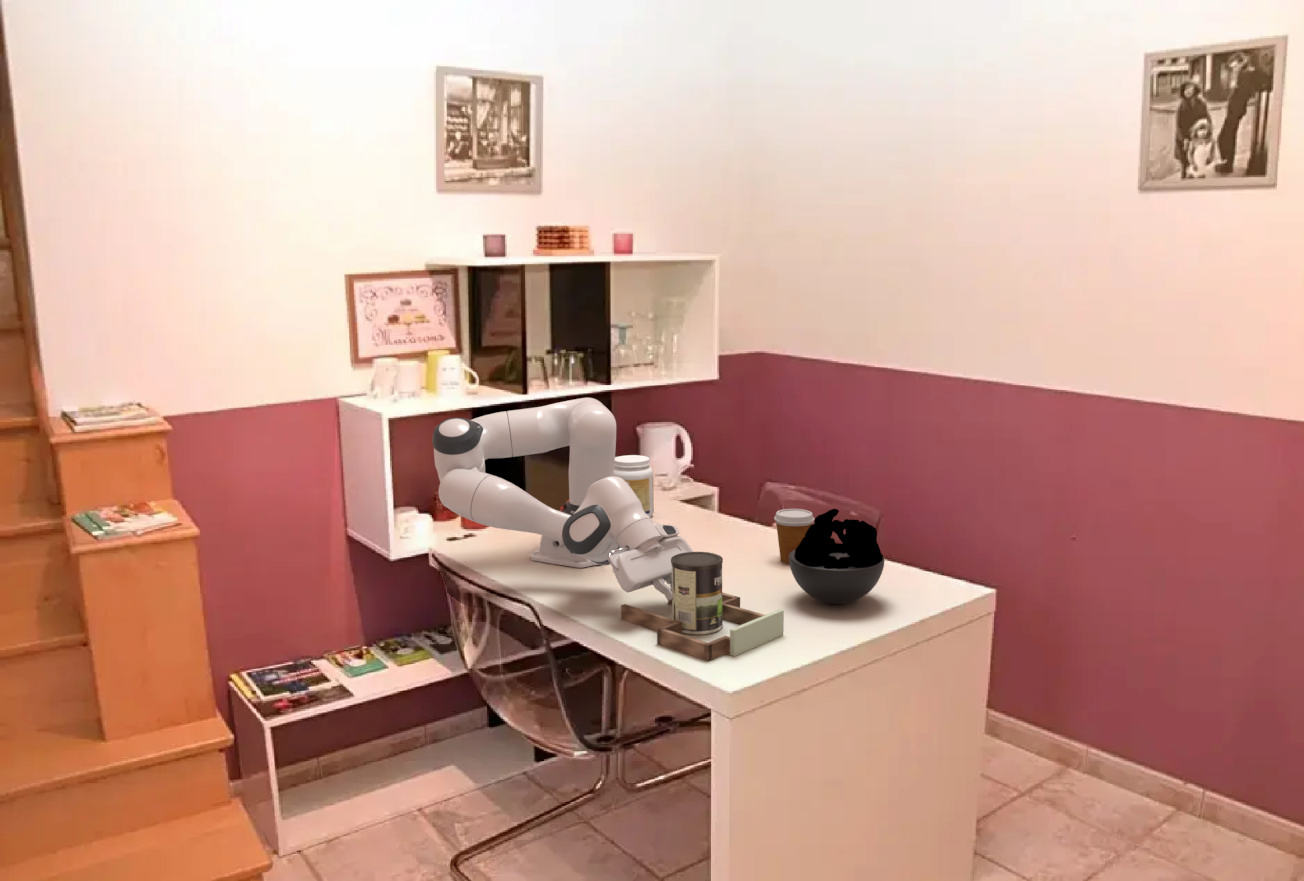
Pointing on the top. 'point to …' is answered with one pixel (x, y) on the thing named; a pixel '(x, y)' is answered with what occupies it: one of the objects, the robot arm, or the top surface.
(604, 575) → the top surface
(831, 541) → the coal bowl
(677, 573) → the coffee can
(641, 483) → the supplement tub
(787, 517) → the disposable coffee cup
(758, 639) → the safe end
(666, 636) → the trap lane
